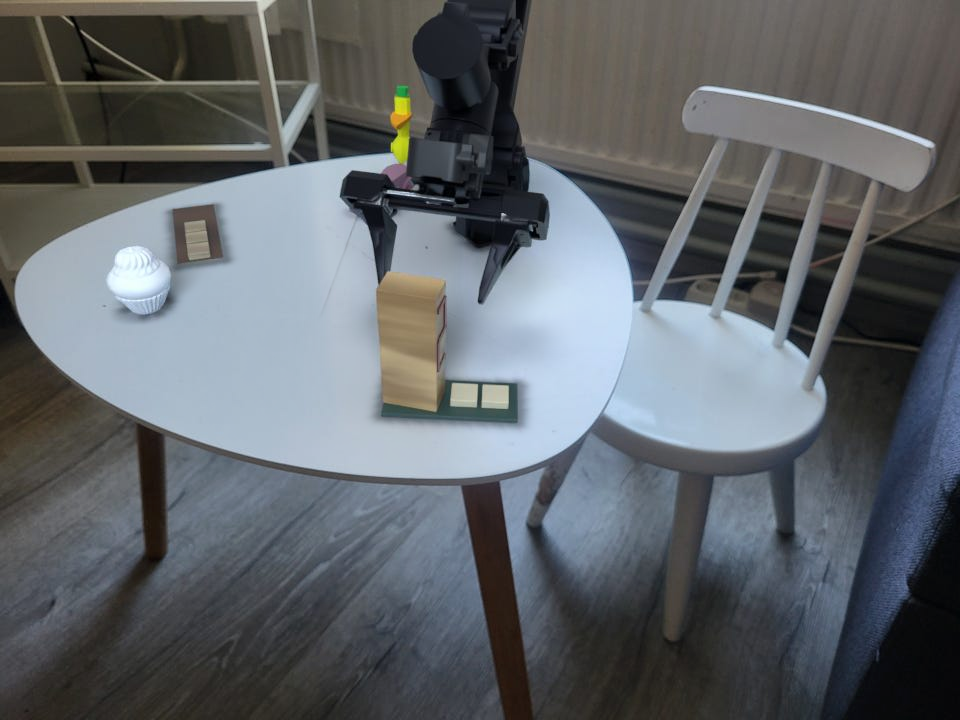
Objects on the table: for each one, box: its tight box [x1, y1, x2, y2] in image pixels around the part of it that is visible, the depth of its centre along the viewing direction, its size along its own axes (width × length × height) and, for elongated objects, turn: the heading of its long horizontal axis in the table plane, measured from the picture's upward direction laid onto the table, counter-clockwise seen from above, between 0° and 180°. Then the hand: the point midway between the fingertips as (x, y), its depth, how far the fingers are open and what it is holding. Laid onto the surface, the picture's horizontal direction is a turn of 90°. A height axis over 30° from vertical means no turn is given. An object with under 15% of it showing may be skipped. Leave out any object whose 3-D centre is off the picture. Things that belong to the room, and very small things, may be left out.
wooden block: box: [375, 270, 448, 412], centre depth 64 cm, size 3×5×12 cm, turn 77°
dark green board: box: [381, 379, 518, 424], centre depth 68 cm, size 12×5×1 cm, turn 88°
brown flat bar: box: [172, 203, 224, 265], centre depth 90 cm, size 14×5×1 cm, turn 20°
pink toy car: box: [348, 160, 416, 214], centre depth 96 cm, size 10×5×7 cm, turn 148°
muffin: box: [105, 245, 172, 316], centre depth 76 cm, size 6×6×7 cm
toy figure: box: [389, 85, 413, 164], centre depth 102 cm, size 7×4×12 cm, turn 172°
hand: (430, 296), depth 68 cm, fingers open, 9 cm apart
